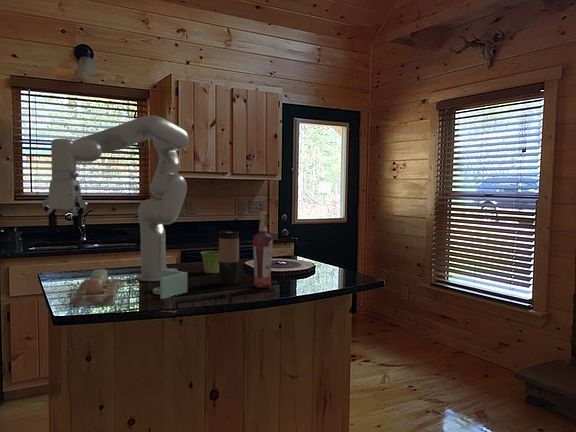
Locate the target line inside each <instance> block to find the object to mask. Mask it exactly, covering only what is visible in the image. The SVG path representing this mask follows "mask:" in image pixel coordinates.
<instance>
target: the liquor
mask: <svg viewBox="0 0 576 432" xmlns="http://www.w3.org/2000/svg"><path fill="white" fill-rule="evenodd" d="M258 213H259V227H258V233H255V235H253V236H252V250H253V274H254V276H253V277H254V278H253V280H254V282H253V284H252V285H253V286H254V287H255V288H256V289H258V288H267V289H269V288H270V287H271V286H272V282H271V279H272V278H271V277H272V273H271V272H272V257H273V242H274V241H273V239H274V237H273V235H271V234H269V233H268V229H267V215H268V214H267V211H259V212H258Z"/></svg>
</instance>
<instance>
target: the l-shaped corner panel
mask: <svg viewBox="0 0 576 432" xmlns="http://www.w3.org/2000/svg"><path fill="white" fill-rule="evenodd" d="M152 293H153V295H154V294H156V295H157V296H159V297H160V299H159V300H164V298H165V299H168V297H169V298H172V297H175V296H174V295H176V296H179V295H182V293H183V294H186V293H188V272H187V271H180V270H177V271H173V270H166V269H161V278H160V281H159V286H158V287H156V288H153V289H152ZM178 294H179V295H178ZM171 296H172V297H171Z"/></svg>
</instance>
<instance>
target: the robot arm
mask: <svg viewBox="0 0 576 432" xmlns="http://www.w3.org/2000/svg"><path fill="white" fill-rule="evenodd" d="M189 137H190V136H189V134H188V133H187V131H186V130H185V129H183V128H182V127H180V126H179V125H176V124H174V123H173V122H171V121H169V120H167V119H165V118H163V117H161V116H158V115H147V116H140V117H136V118H135V119H131V120H128V121H126V122H123V123H121V124H117V125H115V126H113V127H112V126H111V127H109V128H107V129H104V130H101V131H98V132H95V133H91V134H88V135H86V136H85V135H84V136H83V137H80V138H77V139H74V140H73V139H69V138H54V139H52V141H51V144H50V145H51V146H50V148H51V149H50V150H51V154H50V155H51V157H50V158H51V180H50V183H49V189H48V197H47V198H46V199H44V200H42V201H41V204H42V206H43V209H44V211H45V213H46V215H47V216H48V227H51V228H52V227H57V226H58V215H57V214H56V213H57V212H58V211H59V210H61V211H71V212H72V213H73V216H72V227H73V228H74V229H76V228H77V229H78V228H82V217H83V216H84V213H85V212H86V210H87V207H88V202H87V201H85V200H84V199H83V198H82V190H81V185H80V182H79V180H77V178H78V177H79V173H78V172H77V163H93V162H95V161H97V160H99V159H100V158H101V156H102V154H103V153H107V152H116V151H119V150H124V149H126V148H129V147H131V146H133V145H136V144H138V143H141V142H143V141H147V140H151V139H152V143H153V146H154V148H155V150H156V153H157V155H158V163H157V167H156V168H155V169H156V170H155V172H154V175H153V177H152V180H151V183H150V185H149V186H150V187H149V188H150V189H149V190H150V193H151V194H152V196H154V197H156V198H148V199H145V200H143V201H141V203H140V204H139V205H138V208H137V218H138V223H139V228H140V231H139V232H140V274H137V276H136V279H137V280H139V281H141V282H160V278H161V269H166V270H173V271H178V268H174V267H173V268H169V267H168V266H167V265H166V263H167V261H166V258H167V257H166V256H167V255H166V254H167V253H166V247H167V246H166V243H167V242H166V239H167V238H166V229H165V227H164V226H166V225H171V224H173V223H175V221H176V220H177V219H178V217H179V216H180V212H181V210H182V207H183V204H184V201H185V198H186V195H187V192H188V184H187V181H186V179H185V178H184V177H183V176H182V175H180V174H179V171H180V167H181V162H180V158H179V157H180V156H179V154H178V152H177V151H183V150H185V149H186V148H187V147H188V146H189V144H190V138H189Z"/></svg>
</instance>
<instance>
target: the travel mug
mask: <svg viewBox="0 0 576 432" xmlns="http://www.w3.org/2000/svg"><path fill="white" fill-rule="evenodd" d="M239 236H240V232H239V230H228V229H226V230H219V232H218V251H219V272H218V275H219V281H218V282H219V284H220V285H222V284H225V285H224V286H230V285H229V284H235V285H237V284H236V283H238V284H239V276H240V275H239V270H240V269H239V268H240V266H239V265H240V237H239Z"/></svg>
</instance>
